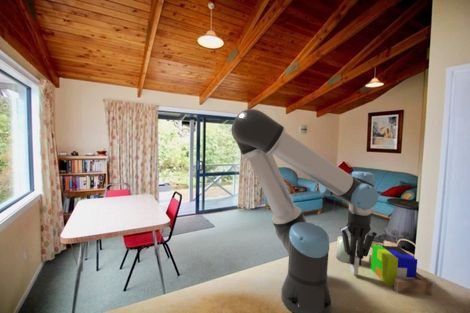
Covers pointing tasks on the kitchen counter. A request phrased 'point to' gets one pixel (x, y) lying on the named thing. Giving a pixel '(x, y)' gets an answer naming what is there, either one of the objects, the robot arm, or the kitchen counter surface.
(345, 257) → the cream egg shape
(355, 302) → the kitchen counter surface
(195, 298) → the kitchen counter surface
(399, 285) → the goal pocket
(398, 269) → the puzzle toy
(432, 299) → the kitchen counter surface
